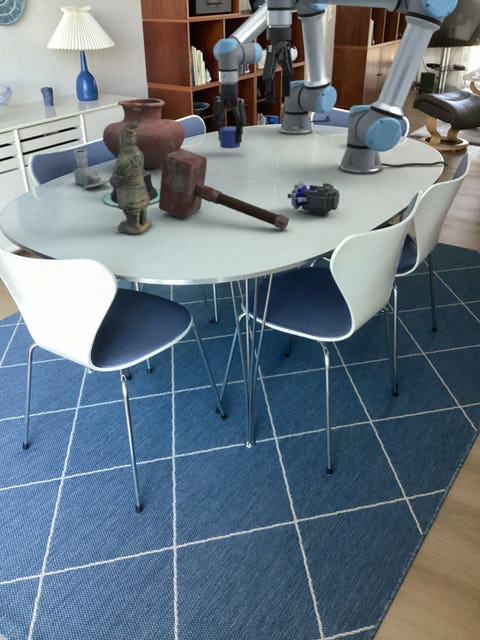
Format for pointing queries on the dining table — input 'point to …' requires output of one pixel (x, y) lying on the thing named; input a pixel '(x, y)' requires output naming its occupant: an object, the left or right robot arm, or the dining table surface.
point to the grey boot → (86, 171)
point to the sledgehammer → (200, 190)
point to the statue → (131, 182)
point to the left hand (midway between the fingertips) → (230, 141)
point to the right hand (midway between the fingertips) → (278, 99)
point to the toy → (315, 198)
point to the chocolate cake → (152, 192)
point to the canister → (228, 137)
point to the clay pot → (146, 131)
